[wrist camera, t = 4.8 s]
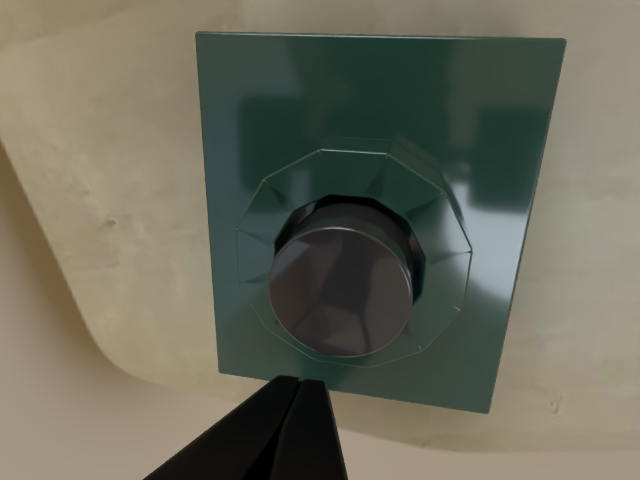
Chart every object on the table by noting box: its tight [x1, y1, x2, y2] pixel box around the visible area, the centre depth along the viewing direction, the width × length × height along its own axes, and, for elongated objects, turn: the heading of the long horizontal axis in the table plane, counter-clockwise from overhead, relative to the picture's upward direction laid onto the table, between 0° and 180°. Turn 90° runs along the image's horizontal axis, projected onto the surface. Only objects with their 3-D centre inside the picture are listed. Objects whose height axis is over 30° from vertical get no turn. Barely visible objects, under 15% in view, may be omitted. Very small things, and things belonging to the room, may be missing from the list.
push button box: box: [195, 31, 567, 414], centre depth 15 cm, size 12×10×6 cm
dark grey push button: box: [268, 202, 413, 357], centre depth 12 cm, size 4×4×2 cm
